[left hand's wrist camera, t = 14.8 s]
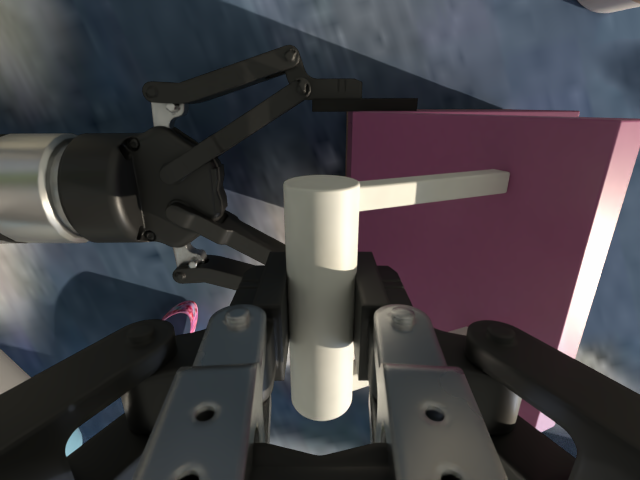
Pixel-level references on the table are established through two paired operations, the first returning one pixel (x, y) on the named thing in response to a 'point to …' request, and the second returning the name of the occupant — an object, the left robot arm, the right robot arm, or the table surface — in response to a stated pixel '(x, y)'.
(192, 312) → the headband
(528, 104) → the table surface
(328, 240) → the lid
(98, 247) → the table surface
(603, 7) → the coffee cup
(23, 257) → the table surface
